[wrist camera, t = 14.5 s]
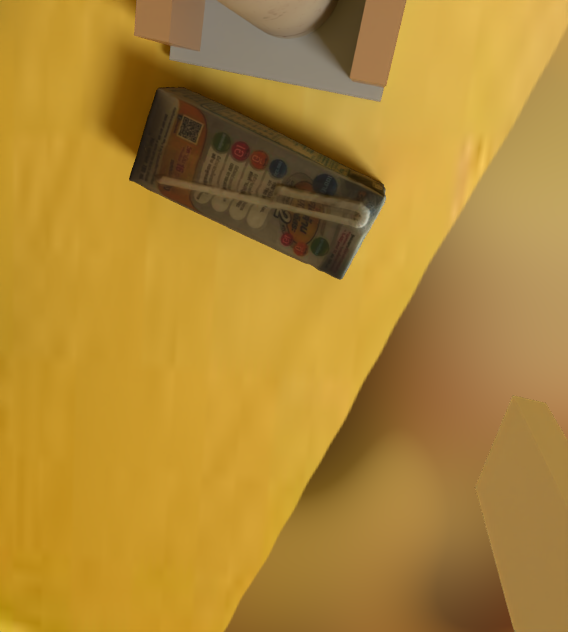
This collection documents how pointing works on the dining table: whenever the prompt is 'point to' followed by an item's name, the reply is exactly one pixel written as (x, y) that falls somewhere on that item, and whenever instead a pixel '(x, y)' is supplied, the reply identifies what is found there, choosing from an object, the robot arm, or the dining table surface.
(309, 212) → the beverage carton
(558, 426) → the robot arm
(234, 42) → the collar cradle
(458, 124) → the dining table surface
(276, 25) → the thermos bottle
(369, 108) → the dining table surface
